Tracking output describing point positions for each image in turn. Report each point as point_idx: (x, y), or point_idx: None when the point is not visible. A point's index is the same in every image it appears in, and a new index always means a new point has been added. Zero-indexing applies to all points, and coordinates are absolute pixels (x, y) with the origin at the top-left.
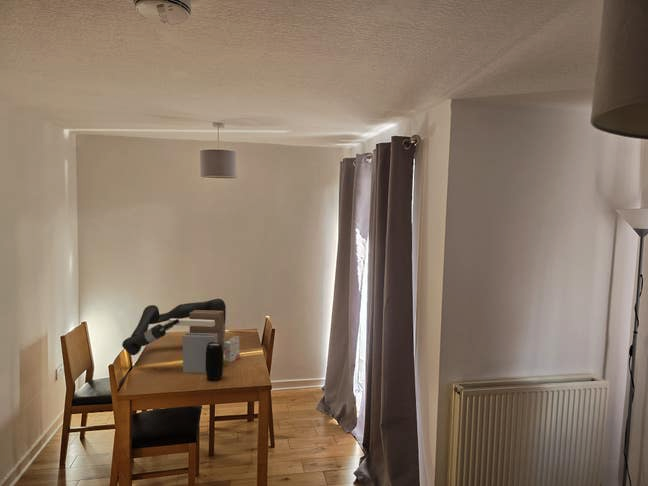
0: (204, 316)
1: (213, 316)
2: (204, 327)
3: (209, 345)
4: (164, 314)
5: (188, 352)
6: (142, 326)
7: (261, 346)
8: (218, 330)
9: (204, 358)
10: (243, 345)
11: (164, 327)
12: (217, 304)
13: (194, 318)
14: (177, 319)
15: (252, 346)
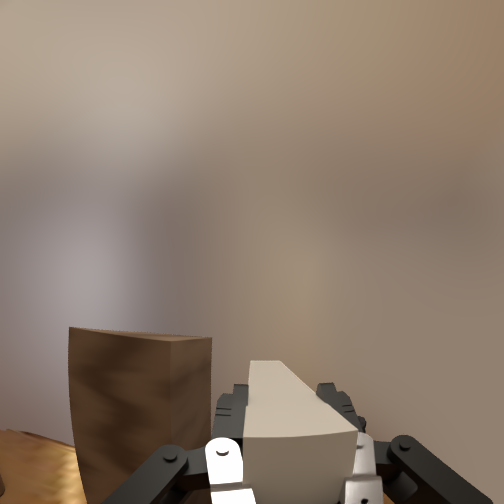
0: (198, 358)
1: (206, 352)
2: (197, 422)
3: (365, 421)
4: None
5: None
6: None
7: (42, 440)
8: (209, 413)
9: None
10: (6, 450)
11: (446, 485)
12: None
13: (181, 382)
14: (331, 385)
15: (29, 446)
